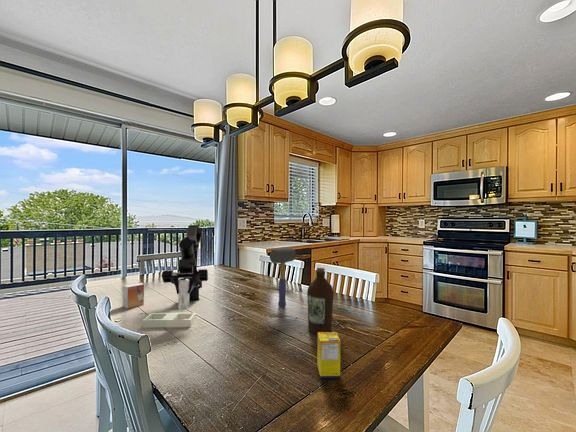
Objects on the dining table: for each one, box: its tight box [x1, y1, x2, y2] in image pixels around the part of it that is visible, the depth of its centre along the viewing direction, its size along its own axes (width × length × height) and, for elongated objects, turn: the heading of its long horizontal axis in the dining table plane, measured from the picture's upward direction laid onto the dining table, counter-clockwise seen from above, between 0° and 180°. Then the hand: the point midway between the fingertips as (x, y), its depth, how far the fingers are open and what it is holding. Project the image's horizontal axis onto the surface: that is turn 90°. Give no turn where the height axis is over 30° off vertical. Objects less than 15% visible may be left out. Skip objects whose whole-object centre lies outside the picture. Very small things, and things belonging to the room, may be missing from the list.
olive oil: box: [306, 267, 335, 335], centre depth 111 cm, size 11×11×25 cm
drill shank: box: [177, 278, 190, 311], centre depth 116 cm, size 4×4×12 cm
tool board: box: [141, 312, 197, 329], centre depth 115 cm, size 19×8×3 cm, turn 93°
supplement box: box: [316, 331, 341, 379], centre depth 81 cm, size 6×6×11 cm
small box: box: [122, 282, 145, 309], centre depth 136 cm, size 8×6×10 cm
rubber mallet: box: [269, 247, 297, 309], centre depth 137 cm, size 12×8×30 cm, turn 131°
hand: (183, 293), depth 114 cm, fingers closed on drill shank, 4 cm apart
